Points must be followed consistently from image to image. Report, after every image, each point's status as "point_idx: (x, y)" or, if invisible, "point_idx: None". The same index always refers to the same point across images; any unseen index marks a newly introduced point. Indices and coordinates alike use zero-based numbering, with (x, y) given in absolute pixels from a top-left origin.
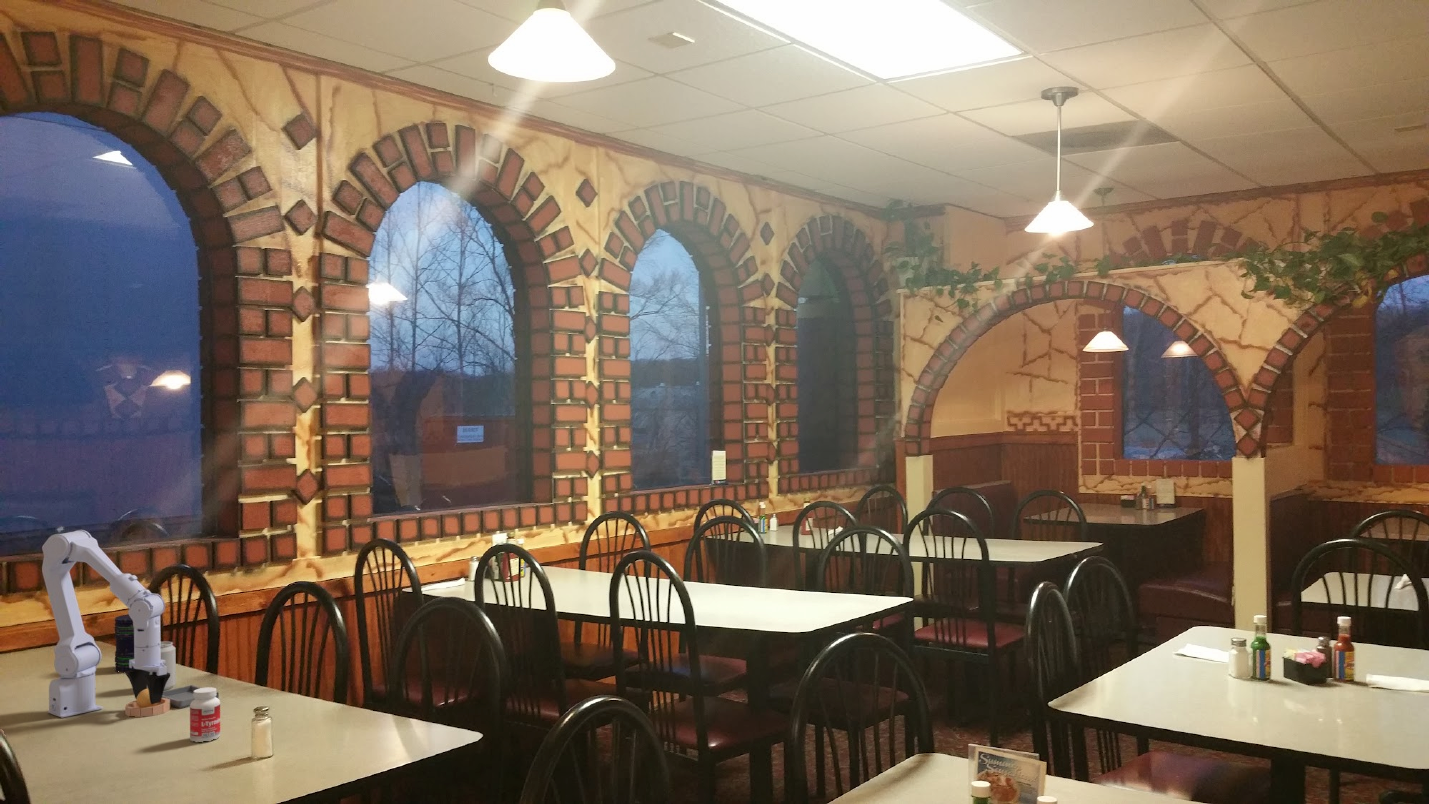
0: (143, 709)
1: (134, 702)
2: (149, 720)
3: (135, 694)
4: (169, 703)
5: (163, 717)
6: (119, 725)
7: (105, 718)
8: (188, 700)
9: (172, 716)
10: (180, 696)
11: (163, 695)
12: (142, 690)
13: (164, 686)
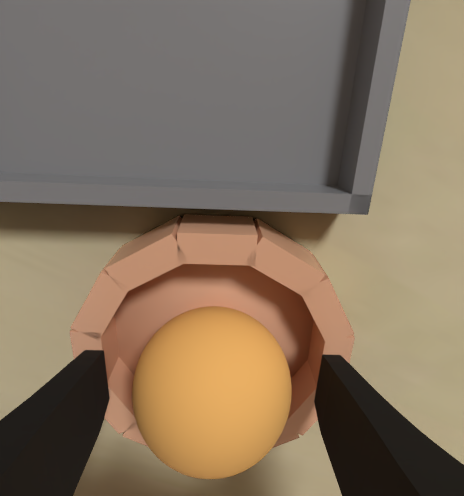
0: (309, 421)
1: (117, 396)
2: (387, 398)
3: (95, 436)
4: (321, 270)
5: (411, 341)
6: (328, 486)
7: (159, 475)
8: (381, 137)
9: (445, 307)
10: (50, 11)
11: (59, 184)
12: (179, 470)
13: (442, 452)
